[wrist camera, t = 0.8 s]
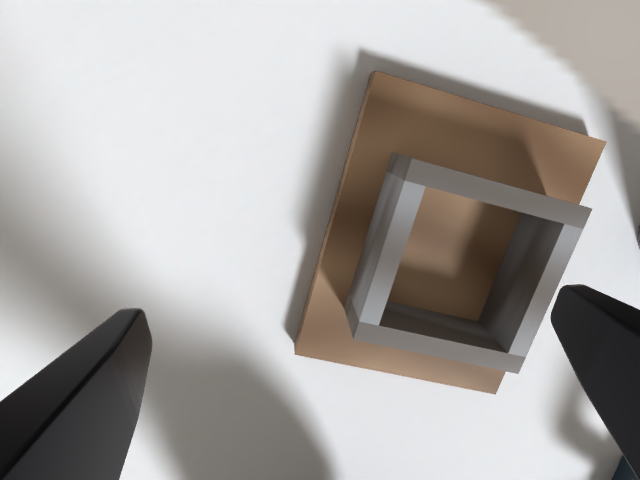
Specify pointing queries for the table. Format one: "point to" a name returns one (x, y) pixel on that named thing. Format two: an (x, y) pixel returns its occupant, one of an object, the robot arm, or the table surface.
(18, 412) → the robot arm
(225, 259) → the table surface
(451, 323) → the end holder
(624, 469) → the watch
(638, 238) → the cable plug
